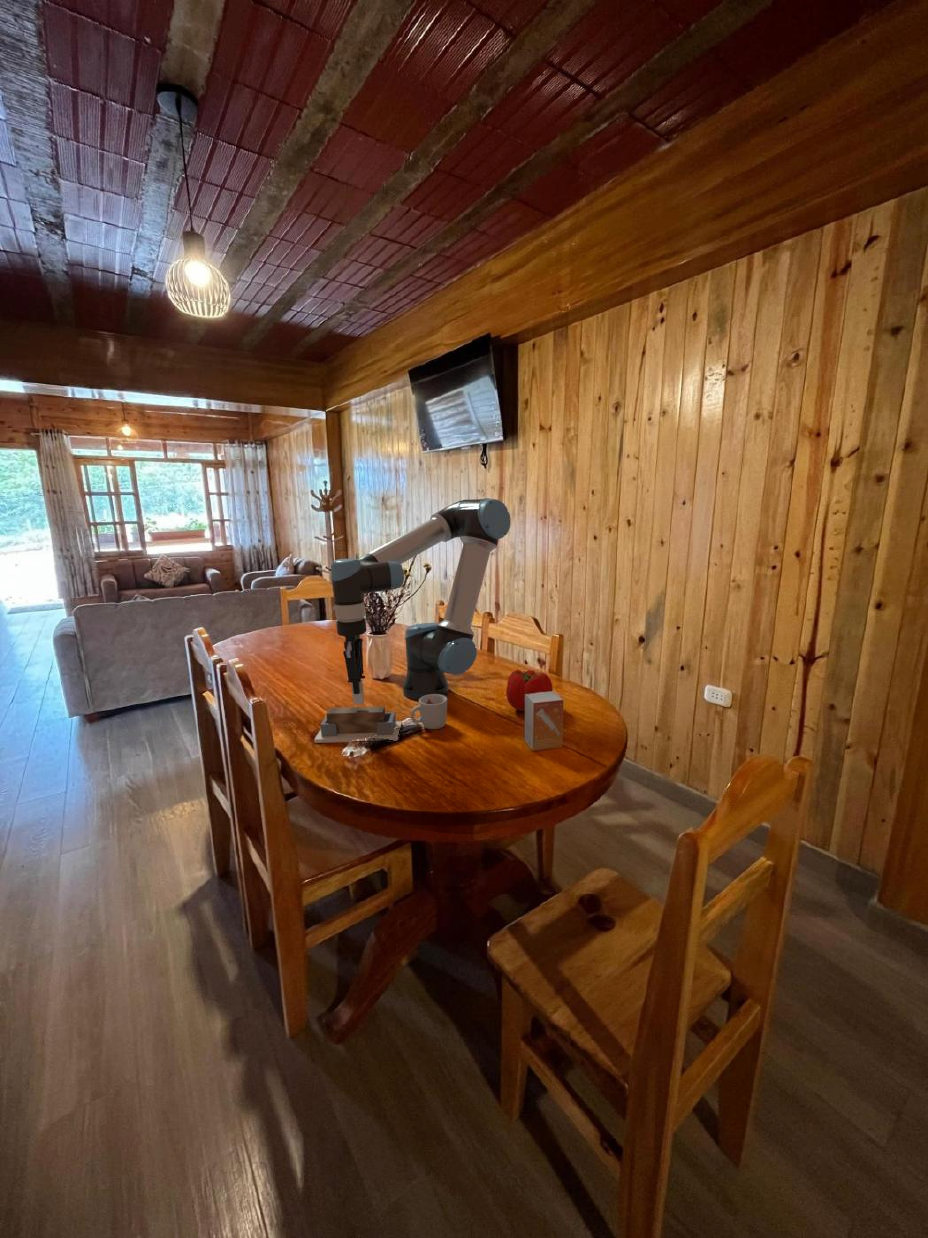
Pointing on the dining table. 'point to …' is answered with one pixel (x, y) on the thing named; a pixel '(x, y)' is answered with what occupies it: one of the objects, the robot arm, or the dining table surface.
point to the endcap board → (383, 728)
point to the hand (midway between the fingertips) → (358, 703)
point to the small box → (543, 720)
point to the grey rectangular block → (356, 719)
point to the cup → (431, 711)
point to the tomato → (525, 686)
